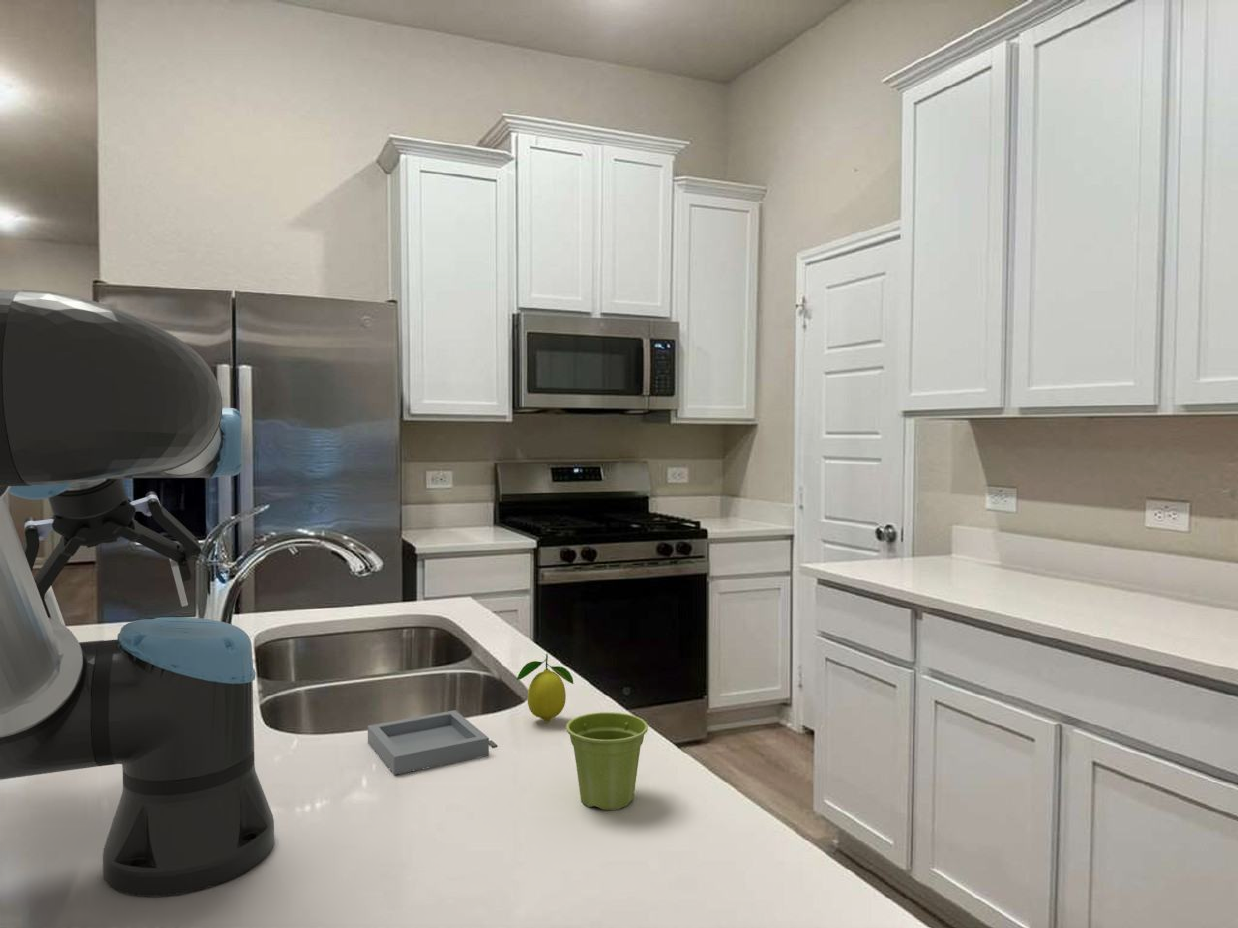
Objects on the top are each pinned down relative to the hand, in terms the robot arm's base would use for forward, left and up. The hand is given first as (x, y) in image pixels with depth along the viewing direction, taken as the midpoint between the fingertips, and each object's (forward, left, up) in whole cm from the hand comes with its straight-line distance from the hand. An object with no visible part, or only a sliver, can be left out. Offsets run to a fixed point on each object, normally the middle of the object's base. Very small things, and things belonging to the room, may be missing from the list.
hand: (125, 616), depth 107 cm
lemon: (-15, -52, -19) cm, 57 cm away
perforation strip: (-16, -42, -18) cm, 49 cm away
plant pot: (-41, -47, -19) cm, 65 cm away
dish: (-16, -34, -18) cm, 42 cm away
